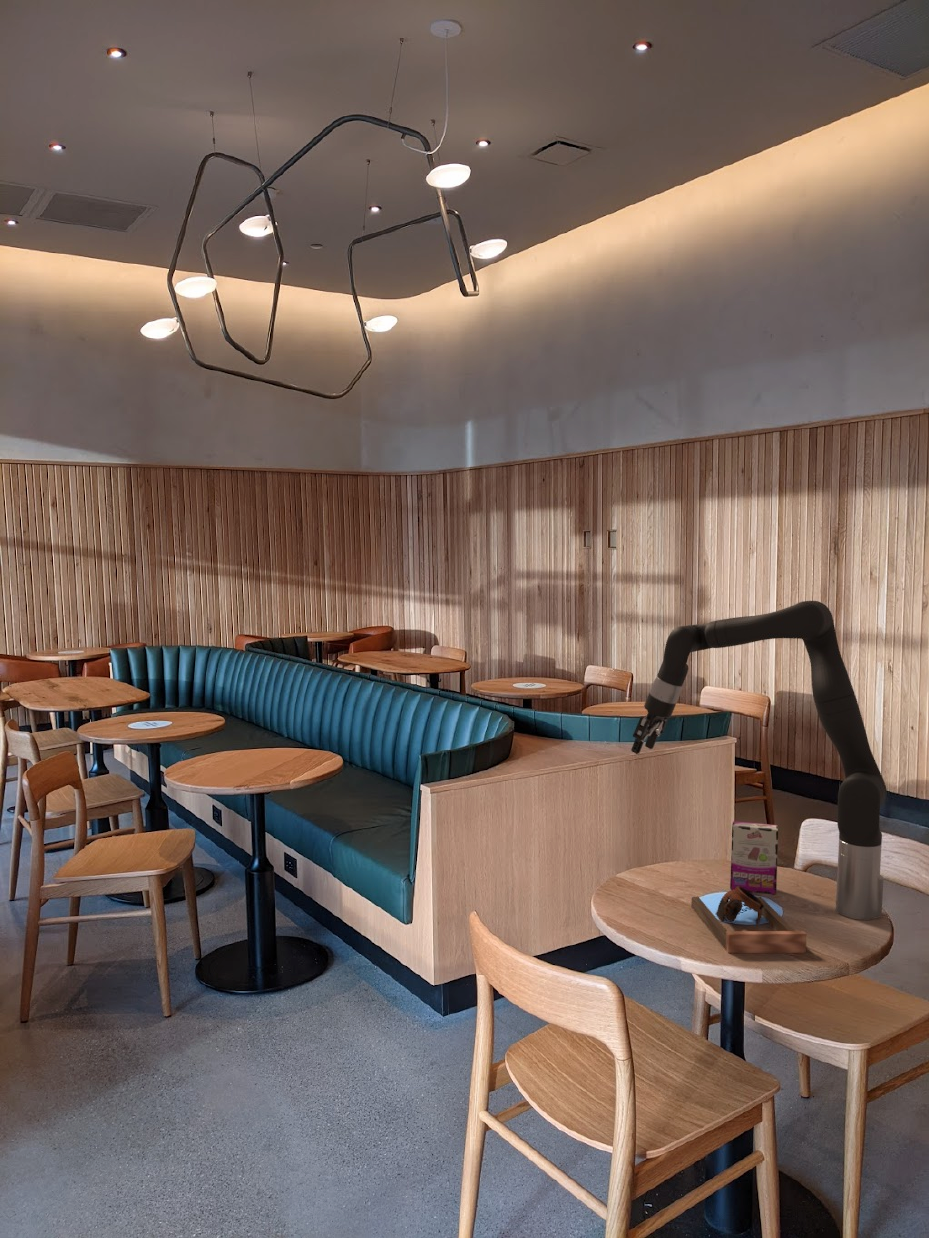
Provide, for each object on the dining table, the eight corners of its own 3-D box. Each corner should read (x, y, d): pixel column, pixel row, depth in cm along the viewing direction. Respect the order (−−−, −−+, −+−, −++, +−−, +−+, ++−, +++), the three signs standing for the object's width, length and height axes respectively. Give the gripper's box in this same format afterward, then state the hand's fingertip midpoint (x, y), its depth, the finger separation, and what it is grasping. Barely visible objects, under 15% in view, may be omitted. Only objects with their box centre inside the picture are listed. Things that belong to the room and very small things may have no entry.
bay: (760, 906, 225) (760, 890, 224) (805, 952, 199) (806, 933, 199) (691, 906, 224) (691, 890, 223) (728, 952, 198) (728, 934, 198)
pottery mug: (719, 910, 224) (738, 881, 223) (752, 936, 219) (772, 907, 218) (704, 912, 214) (724, 882, 213) (739, 940, 208) (760, 910, 208)
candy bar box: (775, 888, 237) (778, 824, 236) (776, 895, 233) (779, 830, 232) (729, 883, 241) (732, 820, 240) (729, 889, 236) (732, 825, 235)
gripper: (664, 705, 241) (642, 761, 245) (686, 699, 252) (664, 752, 256) (639, 692, 245) (618, 747, 249) (662, 687, 256) (641, 739, 260)
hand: (641, 750), depth 253 cm, fingers open, 8 cm apart
